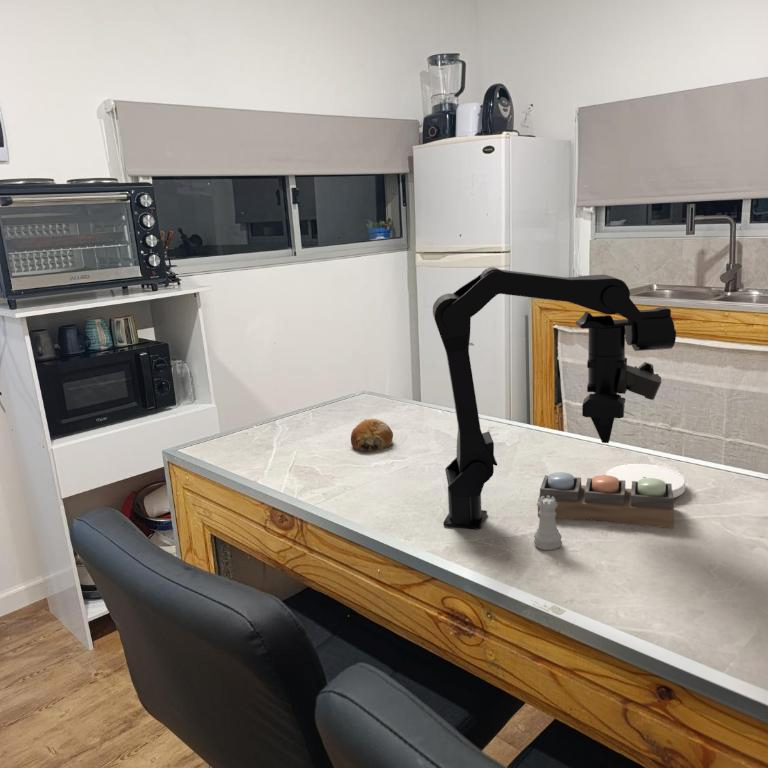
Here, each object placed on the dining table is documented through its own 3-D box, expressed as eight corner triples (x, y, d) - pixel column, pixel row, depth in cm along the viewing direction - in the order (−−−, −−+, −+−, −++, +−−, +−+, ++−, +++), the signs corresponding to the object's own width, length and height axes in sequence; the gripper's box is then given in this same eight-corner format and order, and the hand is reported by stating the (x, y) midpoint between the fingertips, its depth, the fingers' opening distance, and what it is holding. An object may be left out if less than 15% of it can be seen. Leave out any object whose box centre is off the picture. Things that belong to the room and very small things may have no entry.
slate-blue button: (572, 493, 122) (572, 482, 122) (546, 491, 124) (546, 480, 123) (574, 483, 126) (574, 473, 126) (549, 481, 128) (549, 471, 127)
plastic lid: (666, 512, 122) (667, 499, 121) (591, 494, 131) (591, 481, 131) (696, 485, 132) (696, 473, 131) (624, 470, 141) (624, 458, 141)
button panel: (673, 528, 116) (674, 501, 115) (537, 516, 123) (537, 490, 122) (672, 507, 123) (673, 482, 122) (544, 497, 131) (543, 473, 130)
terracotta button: (618, 496, 120) (618, 485, 119) (591, 494, 121) (591, 484, 121) (619, 486, 123) (619, 476, 123) (592, 484, 125) (593, 474, 125)
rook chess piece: (556, 553, 110) (556, 506, 108) (529, 548, 113) (528, 501, 111) (565, 541, 114) (565, 495, 112) (539, 536, 116) (538, 491, 114)
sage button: (665, 500, 117) (666, 489, 116) (637, 498, 118) (637, 487, 118) (665, 489, 121) (665, 479, 120) (637, 488, 122) (638, 477, 122)
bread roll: (398, 457, 167) (403, 424, 168) (375, 452, 158) (381, 417, 159) (363, 452, 172) (369, 419, 173) (339, 447, 164) (345, 413, 165)
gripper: (659, 367, 105) (656, 465, 109) (658, 341, 122) (655, 427, 126) (582, 365, 109) (582, 460, 113) (591, 341, 126) (590, 424, 130)
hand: (605, 442), depth 120 cm, fingers closed
